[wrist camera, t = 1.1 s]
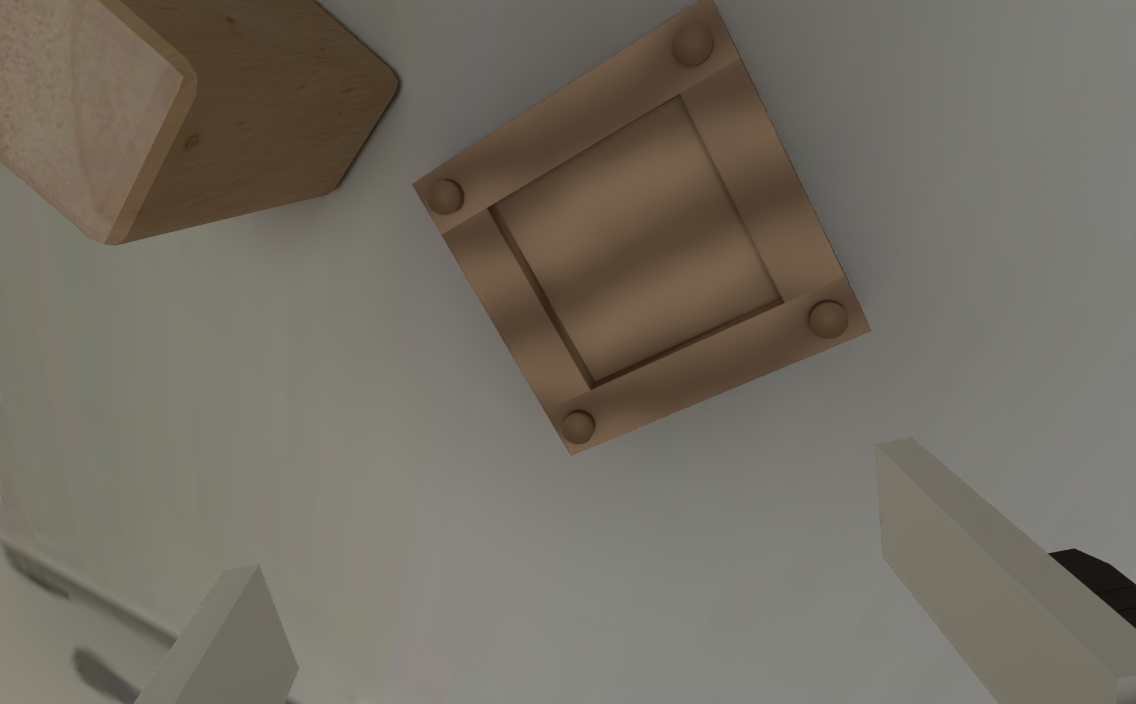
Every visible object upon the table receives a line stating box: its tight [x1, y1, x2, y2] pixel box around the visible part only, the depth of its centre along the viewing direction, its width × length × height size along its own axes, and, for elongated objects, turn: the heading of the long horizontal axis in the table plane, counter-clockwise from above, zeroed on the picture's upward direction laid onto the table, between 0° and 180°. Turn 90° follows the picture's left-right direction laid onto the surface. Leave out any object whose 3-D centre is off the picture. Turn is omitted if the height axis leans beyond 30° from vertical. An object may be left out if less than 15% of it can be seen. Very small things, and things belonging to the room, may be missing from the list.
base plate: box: [412, 0, 871, 455], centre depth 44 cm, size 20×20×6 cm
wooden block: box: [0, 0, 399, 246], centre depth 40 cm, size 10×10×20 cm
